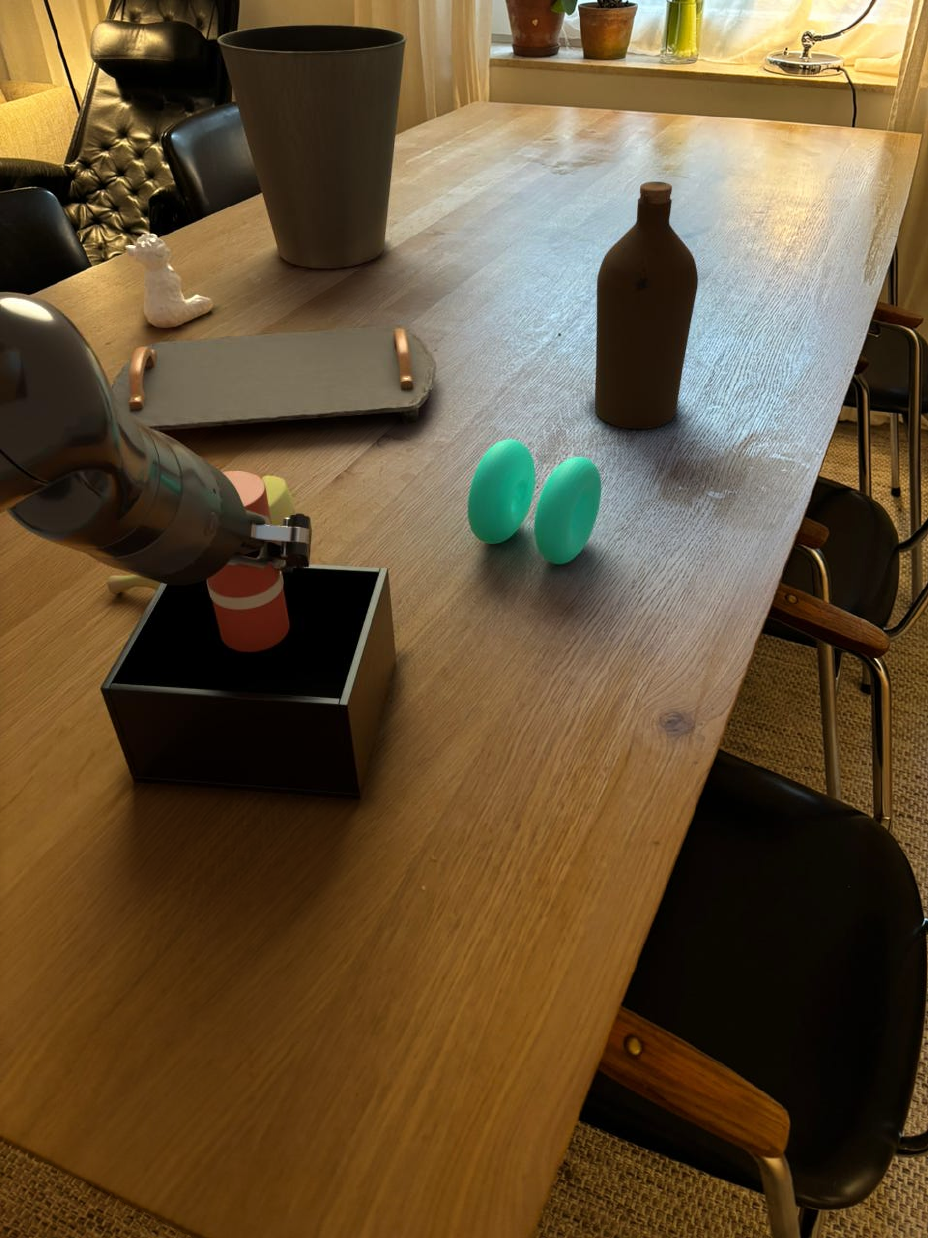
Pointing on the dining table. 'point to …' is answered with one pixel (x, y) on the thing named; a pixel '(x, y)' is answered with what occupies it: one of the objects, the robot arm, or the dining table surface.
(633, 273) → the olive oil
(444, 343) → the dining table surface
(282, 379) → the serving tray
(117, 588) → the banana
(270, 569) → the striped red cylinder
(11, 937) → the dining table surface
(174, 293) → the white creature statuette
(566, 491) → the green wheel pair
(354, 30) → the waste basket
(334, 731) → the bin
